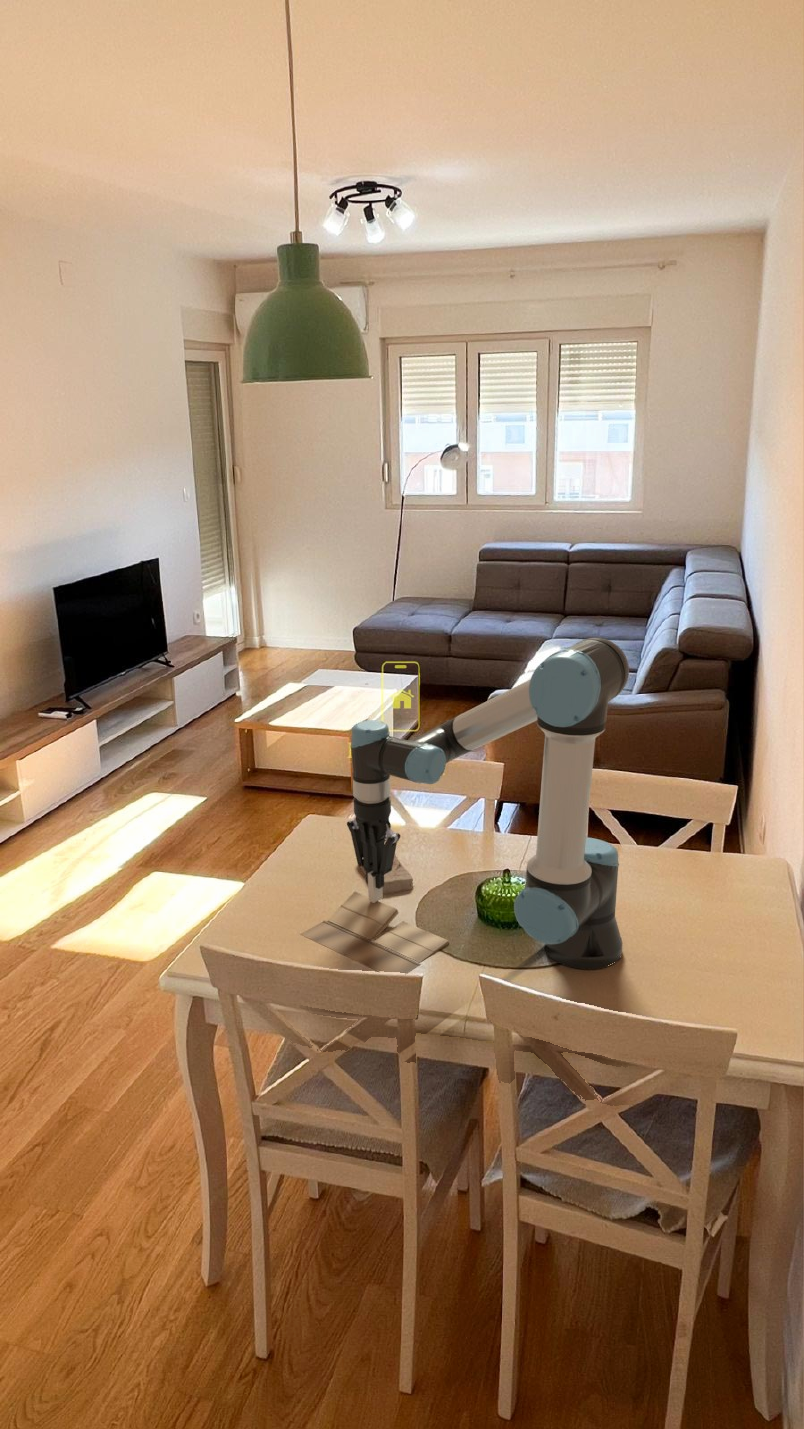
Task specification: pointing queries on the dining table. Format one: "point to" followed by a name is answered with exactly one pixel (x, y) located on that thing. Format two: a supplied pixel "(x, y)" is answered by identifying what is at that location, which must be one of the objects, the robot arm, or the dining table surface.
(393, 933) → the plank
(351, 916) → the plank
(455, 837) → the dining table surface
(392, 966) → the floorboard
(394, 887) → the brick
